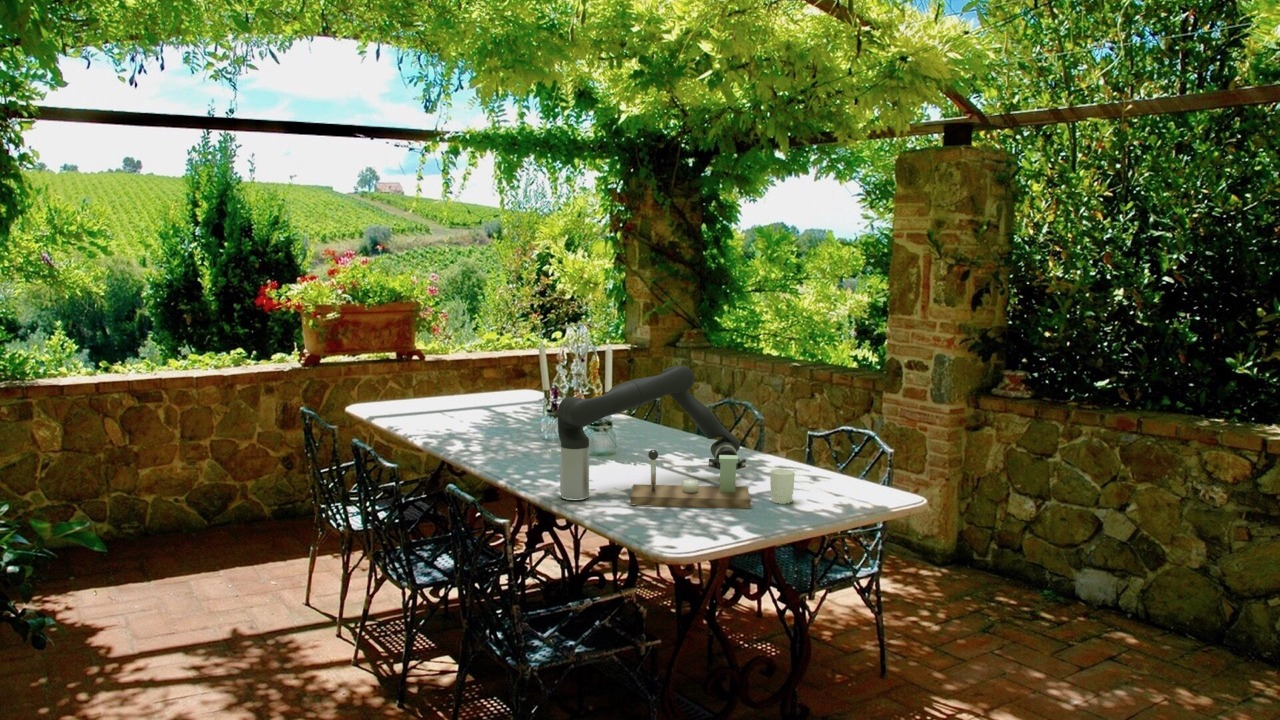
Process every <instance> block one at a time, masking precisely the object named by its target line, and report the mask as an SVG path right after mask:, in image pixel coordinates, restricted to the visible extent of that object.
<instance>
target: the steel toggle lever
mask: <svg viewBox="0 0 1280 720" xmlns="http://www.w3.org/2000/svg"><path fill="white" fill-rule="evenodd" d="M647 456H648V458H649V459H650V485H651V490H652V491H655V490H656V485H657V462H656V461H657V459H658V458H659V453H658V451H657V450H656V449H651V450H650V451H648V455H647Z"/></svg>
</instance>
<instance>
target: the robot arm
mask: <svg viewBox="0 0 1280 720" xmlns="http://www.w3.org/2000/svg"><path fill="white" fill-rule="evenodd" d="M695 377H696V376H695V373H694V371H693V370H692V369H691V368H690V367H688V366H686V365H675V366H669V367H666V368H665V369H663V370H662V371H661V373H660V374H657V375H653V376H646V377H641V378H635V379H630V380H627V381H625V382H622V383H618V384H616V385H615V386H613V387H611V388H610V389H609V390H608V391H607V392H606V393H604V394H602V395H599V396H594V397H591V398H580V397H576V396H566V397H565V398H563V399H562V400H561V401H560V402H559V405H558V408H557V409H558V410H557V431H558V432H557V433H558V438H559V441H560V469H559V470H560V471H559V473H560V474H559V482H560V483H559V485H560V486H559V488H560V489H559V493H561V496H563V497H566V498H572V499H580V498H586V497H588V496H589V497H590V439H589V437H588V435H587V434H586V433H585V431H584V427H587V426H589V425H592V424H594V423H595V422H597V421H600V420H602V419H603V418H606V417H609V416H612V415H616V414H620V413H622V412H626V411H628V410H632V409H635V408H638V407H641V406H643V405H646V404H648V403H651V402H653V401H655V400H657V399H660V398H662V397H665V396H667V395H669V396H670V397H671V398H673V400H674V401H676V403H678V405H680V407H681V408H682V409H683V410H684V411H685V412H686V413H687V415H688V416H689V417H690V418H691V419H692V420H693V421H694V424H695V425H696V426H697V427H698V428H699V430H700V431H701V433H702V434H703V435H704V437H705V438H706V439H707V440H713V439H716V438H718V437H720V438H719V439H717V440H716V441H715V442H713V443H712V444H711V446H710V448H709V449H710V453H711V455H712V457H714V459H713V458H709V459H708V467H709V468H713V469H716V470H719V471H720V464H721V463H719V455H738V453H737V452H738V451H740V448H741V442H740V440H739V439H738V438H737V437H736V436H735V435H734V434H733V433H731V432H730V431H728V429H726V428H725V427H724V426H723V425H722V424H721V422H720V421H719V420H718V419H717V417H716V416H715V414H714V413H713V412H712V411H711V410H710V409H709V408H708V407H707V406H706V405H705V404H704V403H702V402H701V401H700V400H698V399H697V398H696V397H695V396H694V395H693V393H691V392H690V389H691V388H692V387H693V386H694V384H695V379H696V378H695ZM746 467H747V460H746V459H745V458H743V459H740V458H738V463H736V471H737V470H740V469H741V470H742V469H743V468H746ZM561 496H560V497H561Z"/></svg>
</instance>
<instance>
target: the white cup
mask: <svg viewBox="0 0 1280 720" xmlns="http://www.w3.org/2000/svg"><path fill="white" fill-rule="evenodd" d="M769 474H770V475H769V476H770V480H769V481H770V497H771V498H770V500H771V501H770V502H772V503H775V504H778V503H779V504H780V505H786V503H788V504H791V503H792V502H793V495H794V488H795V487H794V486H795V474H796V472H795V471H794V470H792V469H788V468H773V469H770V471H769ZM790 502H791V503H790ZM779 504H778V505H779Z"/></svg>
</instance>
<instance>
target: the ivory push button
mask: <svg viewBox="0 0 1280 720" xmlns="http://www.w3.org/2000/svg"><path fill="white" fill-rule="evenodd" d="M682 485H683V491H684V492H687V493H695V492H698V486H699V480H697V479H684V480H682Z"/></svg>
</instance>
